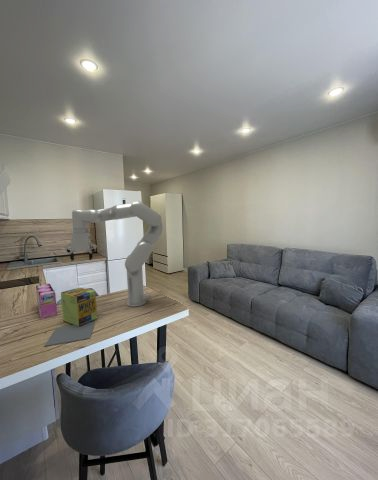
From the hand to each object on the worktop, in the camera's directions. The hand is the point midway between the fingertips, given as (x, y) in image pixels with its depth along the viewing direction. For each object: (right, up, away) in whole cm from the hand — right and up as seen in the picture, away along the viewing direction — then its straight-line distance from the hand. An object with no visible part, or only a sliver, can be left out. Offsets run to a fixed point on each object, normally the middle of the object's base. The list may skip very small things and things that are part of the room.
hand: (81, 260), depth 125 cm
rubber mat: (+8, -33, -25) cm, 42 cm away
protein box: (+5, -31, -12) cm, 34 cm away
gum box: (-22, -31, +2) cm, 38 cm away
